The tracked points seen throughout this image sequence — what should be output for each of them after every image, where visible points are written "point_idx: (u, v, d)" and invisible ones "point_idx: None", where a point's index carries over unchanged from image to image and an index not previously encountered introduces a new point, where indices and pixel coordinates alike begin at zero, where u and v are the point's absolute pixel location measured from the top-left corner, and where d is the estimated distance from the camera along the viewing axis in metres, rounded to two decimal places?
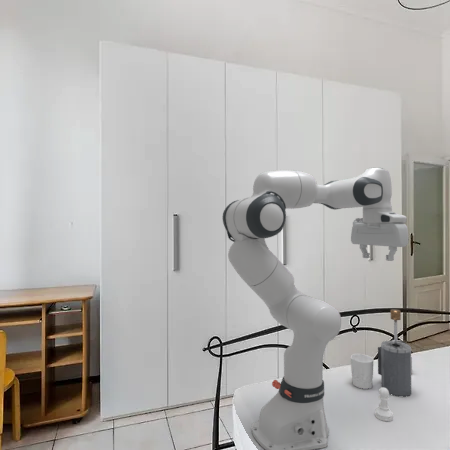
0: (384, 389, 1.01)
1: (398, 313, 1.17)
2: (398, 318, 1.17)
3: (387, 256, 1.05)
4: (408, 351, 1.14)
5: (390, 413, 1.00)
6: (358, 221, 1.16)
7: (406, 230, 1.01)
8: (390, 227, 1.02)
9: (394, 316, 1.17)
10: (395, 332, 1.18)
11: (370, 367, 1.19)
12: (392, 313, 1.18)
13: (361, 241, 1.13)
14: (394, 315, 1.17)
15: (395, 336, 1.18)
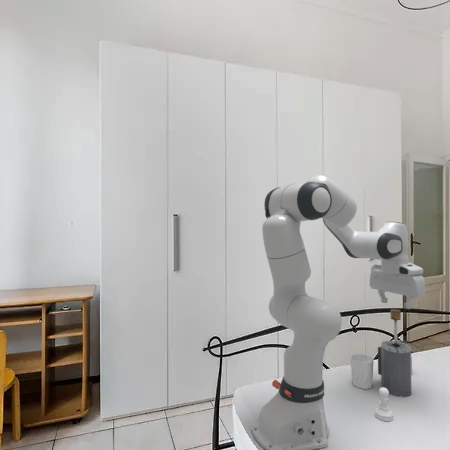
0: (384, 389, 1.01)
1: (398, 313, 1.17)
2: (398, 318, 1.17)
3: (405, 304, 1.14)
4: (408, 351, 1.14)
5: (390, 413, 1.00)
6: (376, 267, 1.25)
7: (423, 282, 1.10)
8: (408, 279, 1.11)
9: (394, 316, 1.17)
10: (395, 332, 1.18)
11: (370, 367, 1.19)
12: (392, 313, 1.18)
13: (380, 287, 1.22)
14: (394, 315, 1.17)
15: (395, 336, 1.18)
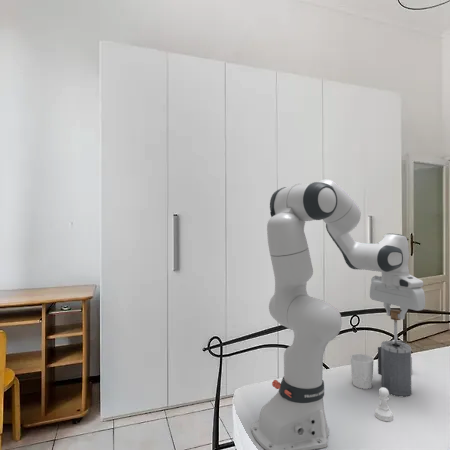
0: (384, 389, 1.01)
1: (398, 313, 1.17)
2: None
3: (399, 315, 1.16)
4: (408, 351, 1.14)
5: (390, 413, 1.00)
6: (376, 279, 1.25)
7: (423, 295, 1.10)
8: (409, 291, 1.11)
9: (394, 316, 1.17)
10: (395, 332, 1.18)
11: (370, 367, 1.19)
12: (392, 313, 1.18)
13: (380, 299, 1.22)
14: (394, 315, 1.17)
15: (395, 336, 1.18)
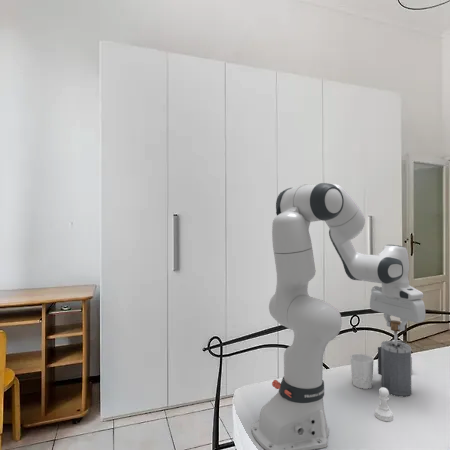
0: (384, 389, 1.01)
1: (398, 324, 1.17)
2: None
3: (399, 326, 1.16)
4: (408, 351, 1.14)
5: (390, 413, 1.00)
6: (377, 289, 1.25)
7: (423, 307, 1.10)
8: (409, 303, 1.11)
9: (394, 327, 1.17)
10: (395, 343, 1.18)
11: (370, 367, 1.19)
12: (392, 324, 1.18)
13: (380, 310, 1.22)
14: (394, 326, 1.17)
15: None
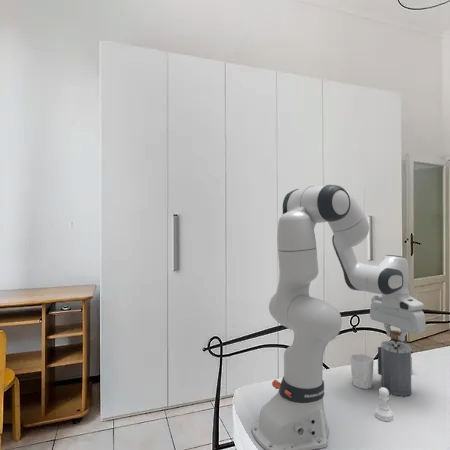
0: (384, 389, 1.01)
1: None
2: (398, 340, 1.17)
3: (399, 337, 1.16)
4: (408, 351, 1.14)
5: (390, 413, 1.00)
6: (377, 299, 1.25)
7: (423, 318, 1.10)
8: (409, 314, 1.11)
9: (394, 338, 1.17)
10: None
11: (370, 367, 1.19)
12: (392, 334, 1.18)
13: (380, 320, 1.22)
14: (394, 337, 1.17)
15: None
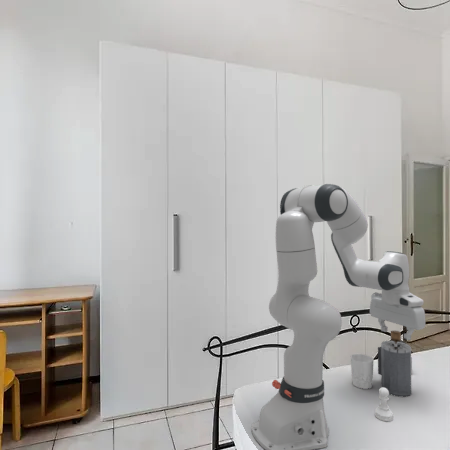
0: (384, 389, 1.01)
1: (398, 335, 1.17)
2: (398, 340, 1.17)
3: (405, 335, 1.14)
4: (408, 351, 1.14)
5: (390, 413, 1.00)
6: (377, 295, 1.25)
7: (423, 314, 1.10)
8: (409, 310, 1.11)
9: (394, 338, 1.17)
10: None
11: (370, 367, 1.19)
12: (392, 335, 1.18)
13: (380, 316, 1.22)
14: (394, 337, 1.17)
15: None
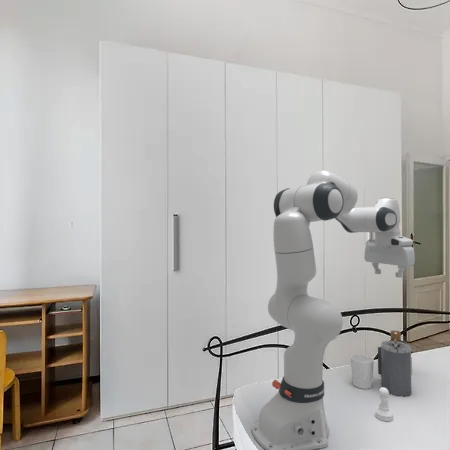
0: (384, 389, 1.01)
1: (398, 335, 1.17)
2: (398, 340, 1.17)
3: (396, 273, 1.24)
4: (408, 351, 1.14)
5: (390, 413, 1.00)
6: (371, 242, 1.35)
7: (413, 252, 1.20)
8: (399, 249, 1.21)
9: (394, 338, 1.17)
10: None
11: (370, 367, 1.19)
12: (392, 335, 1.18)
13: (373, 260, 1.32)
14: (394, 337, 1.17)
15: None
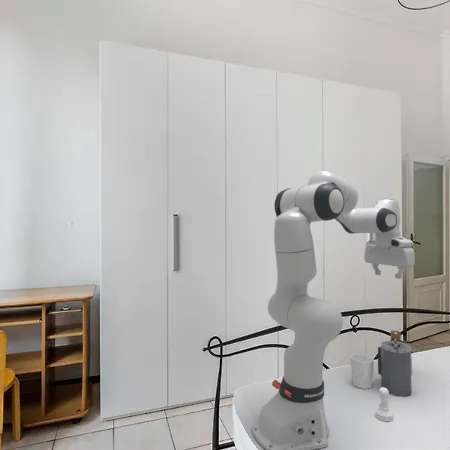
0: (384, 389, 1.01)
1: (398, 335, 1.17)
2: (398, 340, 1.17)
3: (396, 274, 1.24)
4: (408, 351, 1.14)
5: (390, 413, 1.00)
6: (371, 243, 1.35)
7: (413, 253, 1.20)
8: (399, 250, 1.21)
9: (394, 338, 1.17)
10: None
11: (370, 367, 1.19)
12: (392, 335, 1.18)
13: (373, 261, 1.32)
14: (394, 337, 1.17)
15: None
